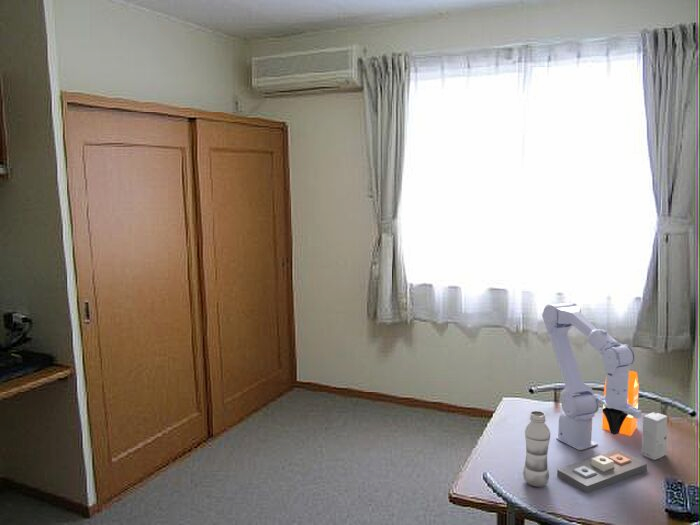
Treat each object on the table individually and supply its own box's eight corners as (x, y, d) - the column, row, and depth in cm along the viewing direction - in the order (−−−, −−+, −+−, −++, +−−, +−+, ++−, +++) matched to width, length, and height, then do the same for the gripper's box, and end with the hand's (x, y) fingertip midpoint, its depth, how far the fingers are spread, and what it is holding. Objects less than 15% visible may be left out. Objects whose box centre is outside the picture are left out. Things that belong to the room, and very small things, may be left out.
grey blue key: (573, 476, 159) (573, 468, 159) (583, 472, 161) (584, 465, 160) (585, 482, 155) (585, 475, 155) (595, 479, 157) (596, 471, 157)
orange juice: (608, 420, 195) (611, 363, 192) (636, 427, 190) (640, 368, 187) (601, 428, 189) (604, 370, 186) (631, 436, 184) (634, 375, 181)
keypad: (557, 476, 160) (557, 469, 160) (615, 455, 171) (616, 449, 171) (586, 493, 151) (586, 486, 151) (646, 470, 162) (647, 463, 162)
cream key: (591, 465, 162) (591, 458, 162) (601, 461, 164) (601, 454, 163) (603, 471, 158) (603, 464, 158) (613, 467, 160) (613, 460, 160)
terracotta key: (608, 463, 165) (608, 456, 165) (617, 460, 167) (618, 453, 167) (620, 469, 162) (620, 462, 161) (630, 466, 164) (630, 459, 163)
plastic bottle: (528, 474, 161) (530, 406, 158) (552, 482, 157) (554, 412, 154) (518, 484, 156) (520, 414, 153) (543, 492, 152) (545, 420, 149)
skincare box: (655, 460, 168) (657, 421, 166) (640, 454, 171) (642, 416, 170) (666, 454, 171) (669, 416, 169) (651, 449, 175) (654, 411, 173)
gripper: (585, 382, 167) (583, 426, 169) (630, 398, 155) (627, 446, 157) (602, 378, 171) (600, 421, 173) (647, 393, 158) (644, 440, 160)
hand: (614, 433), depth 165 cm, fingers closed
